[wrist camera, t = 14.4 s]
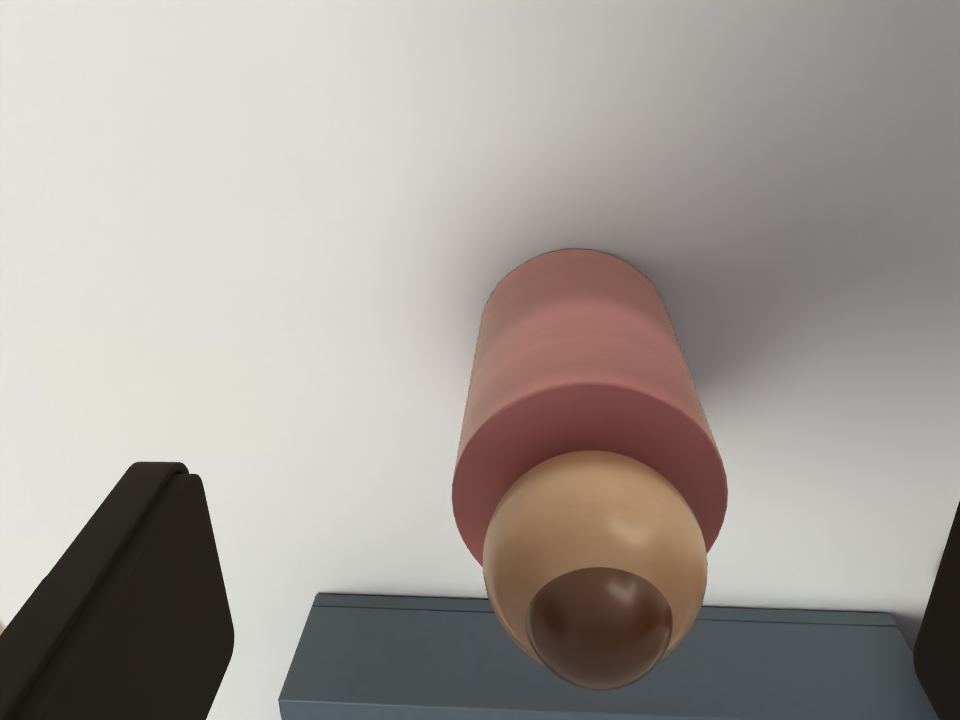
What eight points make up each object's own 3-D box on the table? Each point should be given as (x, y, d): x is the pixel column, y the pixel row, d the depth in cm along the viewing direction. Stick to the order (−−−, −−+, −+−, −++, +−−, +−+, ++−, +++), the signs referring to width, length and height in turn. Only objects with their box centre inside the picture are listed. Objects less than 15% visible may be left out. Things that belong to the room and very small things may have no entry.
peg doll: (477, 247, 18) (416, 515, 9) (677, 249, 18) (815, 527, 9) (480, 419, 20) (431, 780, 11) (661, 423, 20) (760, 797, 11)
